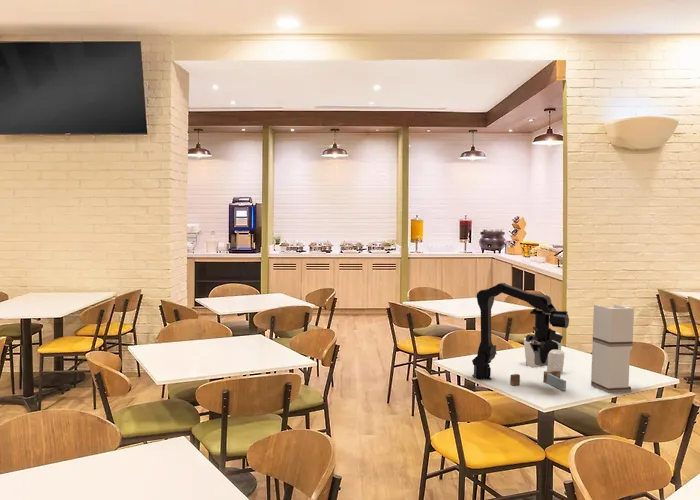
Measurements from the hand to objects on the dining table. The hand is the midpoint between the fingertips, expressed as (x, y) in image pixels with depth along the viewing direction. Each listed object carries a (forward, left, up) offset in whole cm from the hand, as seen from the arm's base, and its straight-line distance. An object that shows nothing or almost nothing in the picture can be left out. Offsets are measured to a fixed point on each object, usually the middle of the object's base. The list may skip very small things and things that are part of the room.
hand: (541, 362), depth 241 cm
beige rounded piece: (+19, +24, -11) cm, 33 cm away
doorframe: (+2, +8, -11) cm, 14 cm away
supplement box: (+34, +56, -11) cm, 67 cm away
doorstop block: (0, 0, -1) cm, 1 cm away
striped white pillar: (+30, -3, -11) cm, 32 cm away
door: (+9, +2, -11) cm, 14 cm away
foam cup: (+15, +38, -11) cm, 43 cm away
